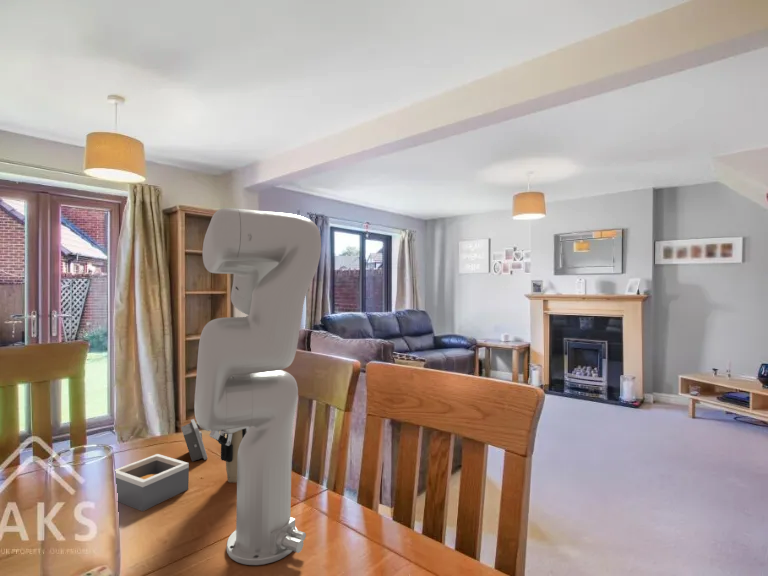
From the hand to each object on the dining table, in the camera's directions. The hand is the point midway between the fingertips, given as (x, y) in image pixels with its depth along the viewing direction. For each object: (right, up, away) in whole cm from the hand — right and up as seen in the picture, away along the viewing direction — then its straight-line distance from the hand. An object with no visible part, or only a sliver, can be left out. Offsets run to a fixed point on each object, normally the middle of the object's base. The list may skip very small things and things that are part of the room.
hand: (234, 456), depth 102 cm
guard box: (-16, -5, -7) cm, 19 cm away
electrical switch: (-16, -6, +14) cm, 22 cm away
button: (-16, -4, -7) cm, 18 cm away
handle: (0, -6, 0) cm, 6 cm away
